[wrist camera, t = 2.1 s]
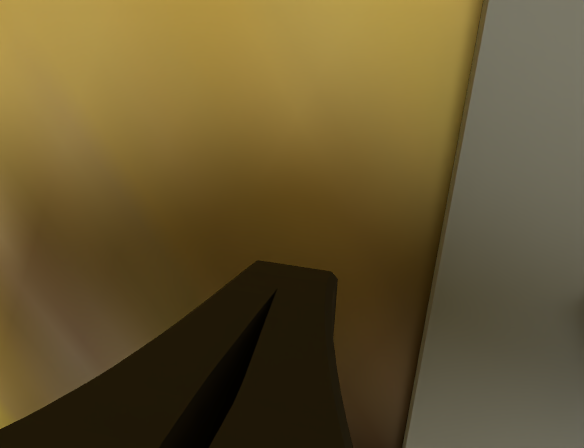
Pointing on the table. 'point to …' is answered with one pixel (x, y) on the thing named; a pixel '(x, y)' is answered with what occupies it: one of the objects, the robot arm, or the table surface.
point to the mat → (511, 245)
